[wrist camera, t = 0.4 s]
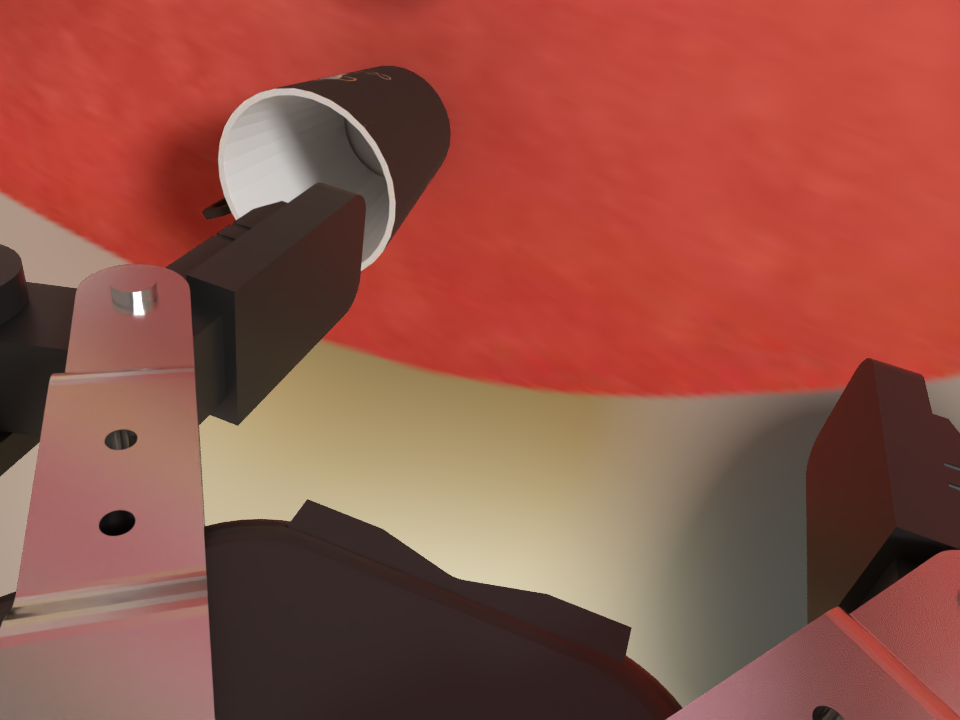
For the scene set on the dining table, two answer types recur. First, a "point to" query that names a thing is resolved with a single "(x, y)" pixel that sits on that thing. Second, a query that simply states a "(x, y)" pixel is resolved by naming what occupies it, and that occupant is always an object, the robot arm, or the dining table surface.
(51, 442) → the robot arm
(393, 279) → the dining table surface
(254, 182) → the coffee mug
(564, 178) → the dining table surface
